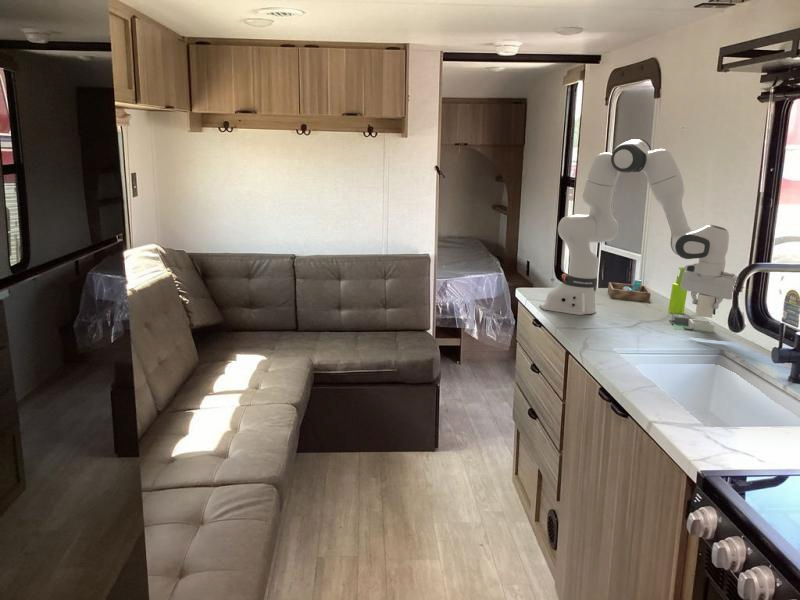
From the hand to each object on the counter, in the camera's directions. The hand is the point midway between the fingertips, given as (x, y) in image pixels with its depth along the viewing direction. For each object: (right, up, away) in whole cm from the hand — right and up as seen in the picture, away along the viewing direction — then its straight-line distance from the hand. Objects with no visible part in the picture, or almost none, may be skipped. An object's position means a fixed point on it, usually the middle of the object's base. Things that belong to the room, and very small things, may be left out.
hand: (704, 306), depth 239 cm
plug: (0, -4, +1) cm, 4 cm away
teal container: (-6, +4, +59) cm, 60 cm away
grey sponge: (-6, -7, +9) cm, 12 cm away
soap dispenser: (+1, -4, +27) cm, 27 cm away
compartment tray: (-3, -9, +5) cm, 11 cm away
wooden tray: (-8, +4, +58) cm, 59 cm away
